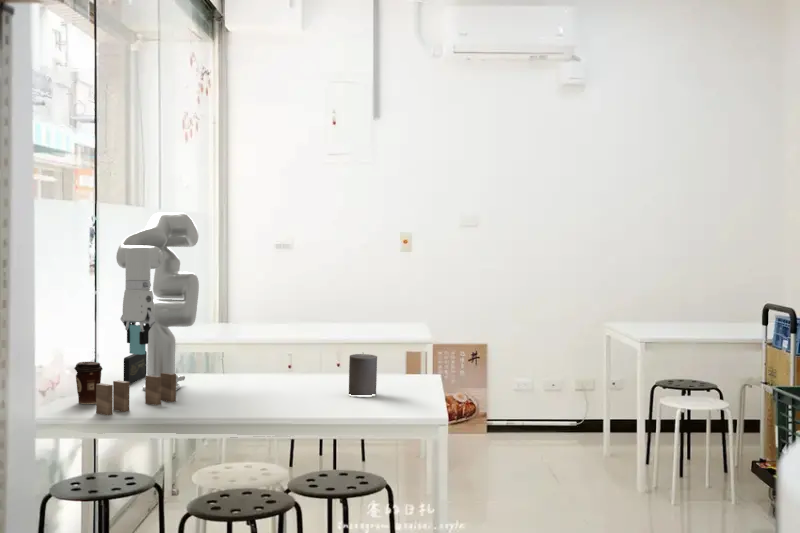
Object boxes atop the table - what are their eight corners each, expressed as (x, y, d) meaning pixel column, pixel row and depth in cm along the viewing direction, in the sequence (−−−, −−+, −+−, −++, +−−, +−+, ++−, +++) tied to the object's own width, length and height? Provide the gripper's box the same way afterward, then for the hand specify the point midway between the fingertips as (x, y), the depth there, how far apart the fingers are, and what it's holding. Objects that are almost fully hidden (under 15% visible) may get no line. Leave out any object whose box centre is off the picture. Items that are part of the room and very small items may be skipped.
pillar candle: (343, 396, 306) (344, 352, 306) (357, 391, 315) (358, 349, 314) (367, 399, 302) (368, 355, 301) (381, 394, 310) (382, 351, 310)
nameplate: (141, 376, 342) (141, 350, 342) (146, 376, 342) (146, 350, 342) (123, 385, 321) (123, 358, 321) (128, 385, 321) (128, 358, 321)
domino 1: (118, 409, 279) (118, 380, 279) (129, 410, 276) (129, 381, 276) (113, 410, 277) (113, 381, 277) (124, 411, 275) (124, 382, 274)
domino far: (101, 412, 273) (101, 383, 273) (112, 414, 271) (112, 384, 270) (96, 413, 272) (96, 384, 271) (107, 415, 269) (107, 385, 269)
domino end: (165, 399, 295) (165, 372, 295) (175, 401, 293) (176, 373, 292) (160, 400, 294) (160, 373, 293) (171, 402, 291) (171, 374, 291)
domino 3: (150, 402, 290) (150, 375, 290) (161, 404, 287) (161, 376, 287) (145, 403, 288) (145, 375, 288) (156, 405, 286) (156, 377, 285)
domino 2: (134, 352, 284) (134, 324, 283) (145, 353, 281) (145, 325, 281) (129, 353, 282) (129, 324, 282) (140, 354, 279) (140, 325, 279)
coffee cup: (71, 405, 283) (71, 364, 283) (76, 400, 291) (76, 361, 291) (100, 404, 285) (100, 364, 284) (104, 400, 293) (104, 360, 292)
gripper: (166, 286, 280) (165, 344, 280) (128, 284, 288) (128, 340, 289) (147, 287, 273) (147, 346, 274) (109, 285, 282) (109, 342, 283)
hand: (137, 342), depth 281 cm, fingers closed on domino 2, 4 cm apart
